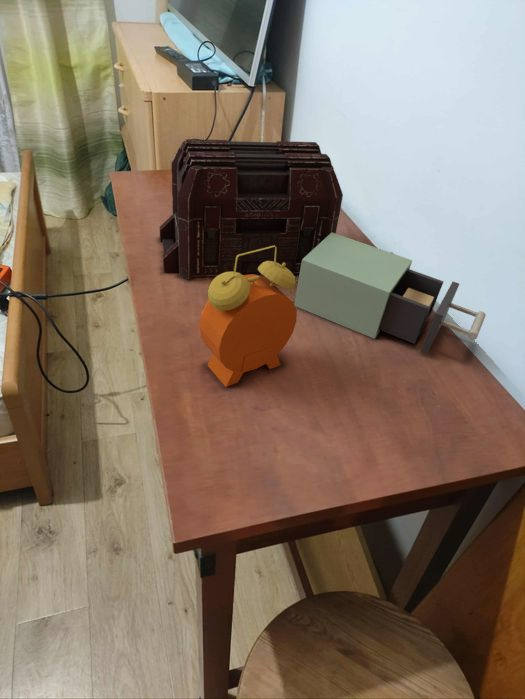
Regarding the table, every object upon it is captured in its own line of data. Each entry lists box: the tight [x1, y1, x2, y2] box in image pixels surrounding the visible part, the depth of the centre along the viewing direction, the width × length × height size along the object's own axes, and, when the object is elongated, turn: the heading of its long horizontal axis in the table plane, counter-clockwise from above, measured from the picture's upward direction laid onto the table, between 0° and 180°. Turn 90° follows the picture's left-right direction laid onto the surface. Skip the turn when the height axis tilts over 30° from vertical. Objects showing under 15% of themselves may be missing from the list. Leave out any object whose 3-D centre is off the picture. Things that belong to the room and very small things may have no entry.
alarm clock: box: [198, 246, 298, 388], centre depth 72 cm, size 13×6×20 cm, turn 125°
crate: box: [159, 138, 344, 280], centre depth 97 cm, size 35×19×21 cm, turn 101°
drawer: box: [379, 268, 487, 354], centre depth 87 cm, size 20×11×8 cm, turn 60°
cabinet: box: [294, 232, 413, 339], centre depth 90 cm, size 16×13×10 cm
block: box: [403, 288, 434, 323], centre depth 87 cm, size 5×5×5 cm
